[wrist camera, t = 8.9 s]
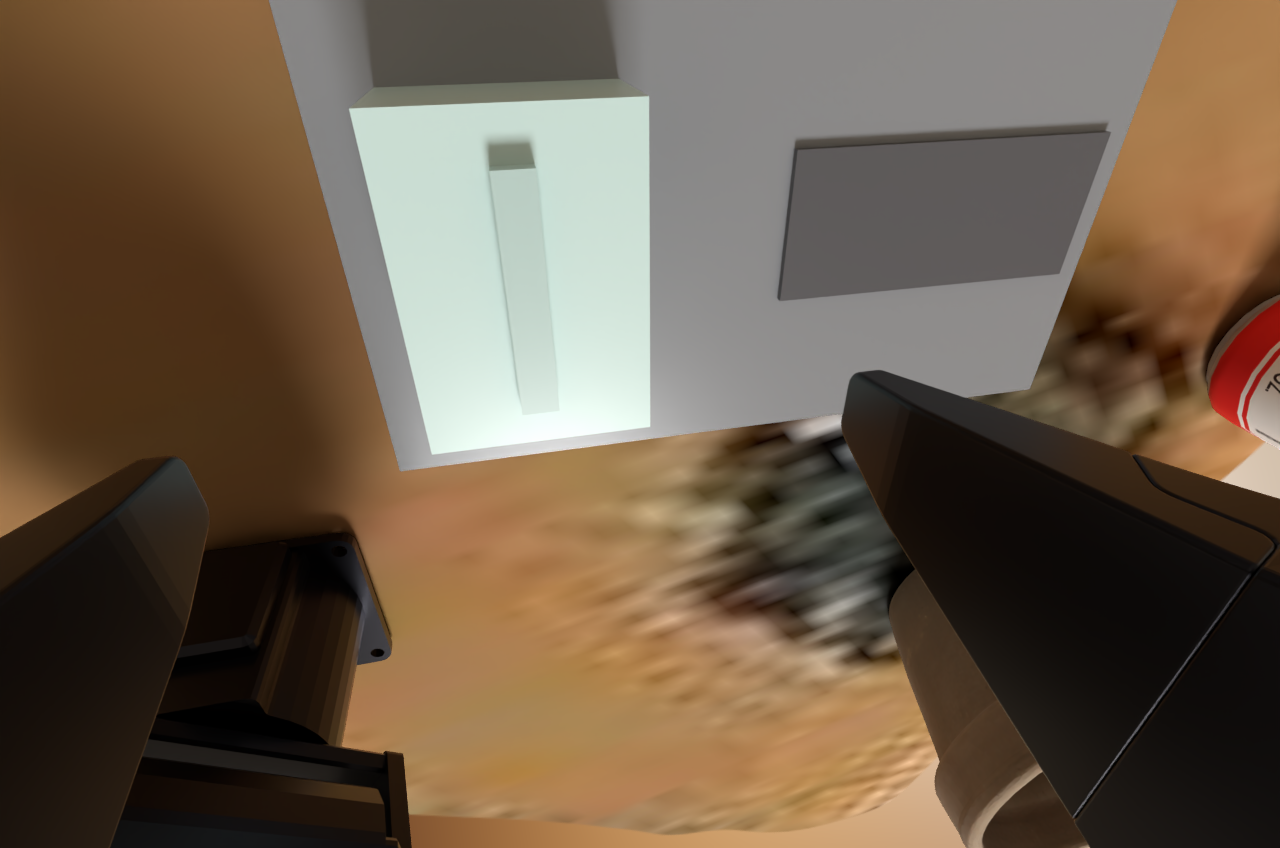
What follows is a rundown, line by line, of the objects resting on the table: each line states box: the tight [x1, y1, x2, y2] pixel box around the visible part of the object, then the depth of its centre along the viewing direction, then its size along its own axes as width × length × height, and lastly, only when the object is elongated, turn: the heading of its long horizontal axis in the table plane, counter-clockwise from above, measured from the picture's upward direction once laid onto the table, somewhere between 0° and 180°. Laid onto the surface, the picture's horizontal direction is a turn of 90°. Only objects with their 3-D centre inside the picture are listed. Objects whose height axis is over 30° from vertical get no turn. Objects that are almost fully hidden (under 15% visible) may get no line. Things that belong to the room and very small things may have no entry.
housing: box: [269, 0, 1177, 471], centre depth 17 cm, size 12×20×3 cm, turn 90°
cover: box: [349, 79, 650, 455], centre depth 14 cm, size 7×5×3 cm
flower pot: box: [889, 569, 1089, 848], centre depth 28 cm, size 12×11×10 cm
